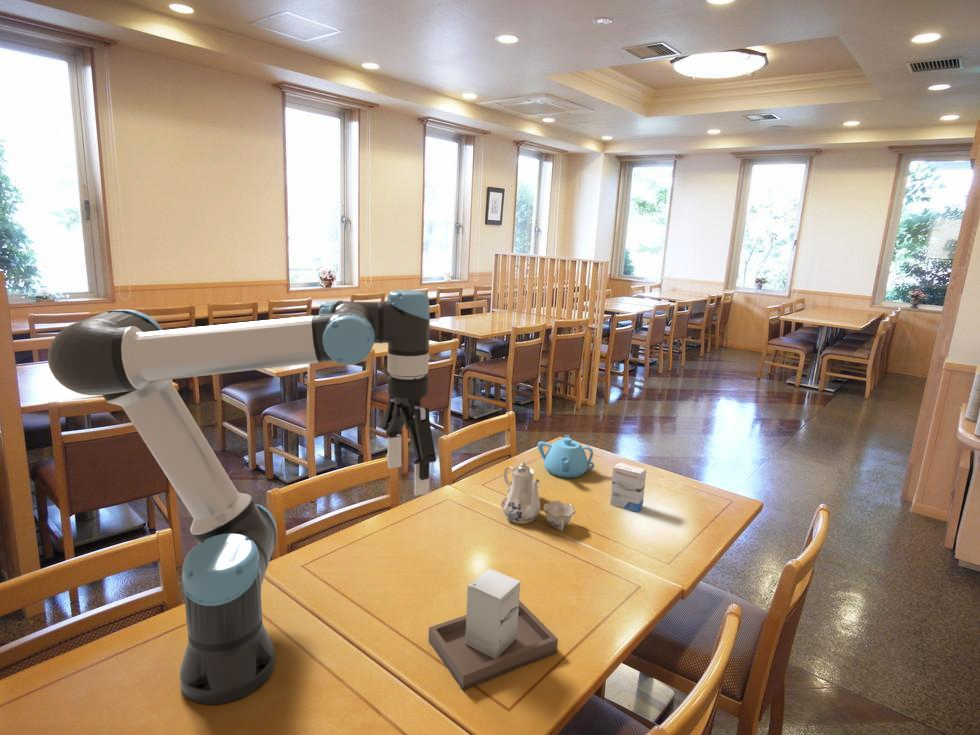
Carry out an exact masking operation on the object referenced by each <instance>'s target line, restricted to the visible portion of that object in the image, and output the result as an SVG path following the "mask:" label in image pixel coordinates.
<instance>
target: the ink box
mask: <svg viewBox="0 0 980 735" xmlns="http://www.w3.org/2000/svg"><path fill="white" fill-rule="evenodd" d="M611 476H612V478H611V486H610V488H611V489H610V497H609V498H610V499H609V500H610V501H609V505H611V506H614V507H619V508H622V509H625V510H629V511H633V512H636V513H638V512H639V511H640V510H641V509H642V508H643V506H644V497H645V496H644V495H645V488H646V478H647V477H646V476H647V469H646V468H643V467H638V466H633V465H630V464H626V463H623V462H618V463H617V464H616V465H614V466H613V468H612V475H611Z"/></svg>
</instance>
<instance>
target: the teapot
mask: <svg viewBox="0 0 980 735" xmlns="http://www.w3.org/2000/svg"><path fill="white" fill-rule="evenodd" d="M544 447H548V449H547V451H546V453H545V450H544ZM537 450H538V451H539V454H540V456H541V457H542V459H543V465H544V468H545V470H547V471H548V473H549V474H550V475H553V476H556V477H559V478H566V479H567V478H568V479H572V478H573V479H574V478H579V477H581V476H583V475H584V473H586V472H587V470H592V469H594V468H595V464H594V462H593V461H592V459H593V456H594V451H593V449H592V447H590V446H588V445H584V446H583V445H581V443H579V442H578V441H576V440H573V438H571V437H570V435H568V434H565V435H564V437H563V438H562V439H557V440H555V441H554V442H552V443H549V442H546V441H539V442H537ZM585 450H588V451H589V453H590V455H589V457H587V453H586V452H585Z"/></svg>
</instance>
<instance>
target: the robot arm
mask: <svg viewBox="0 0 980 735" xmlns="http://www.w3.org/2000/svg"><path fill="white" fill-rule="evenodd" d="M430 319H431V317H430V298H429V295H428V294H426V293H425V292H424V291H419V290H411V289H410V290H409V289H408V290H407V289H405V290H404V289H403V290H397V289H396V290H392V291H389V293H388V294H387V299H386V301H383V302H382V301H379V302H378V301H377V302H374V301H347V300H346V301H344V300H342V299H341V300H340V299H339V300H335V301H333V300H332V301H323V302H321V304H320V305H319V311H318V315H305V316H303V315H302V316H294V317H293V316H292V317H284V318H273V319H263V320H255V321H254V320H253V321H244V322H235V323H234V322H233V323H223V324H216V325H215V324H214V325H204V326H202V325H201V326H195V327H194V326H191V327H185V328H182V327H181V328H173V329H171V328H170V329H165V330H164V329H163V328H162V326H161V325H160V324H159V323H158V321H156V320H155V319H154V318H152V317H151V316H149V315H148V314H146V313H144V312H140V311H138V310H133V309H126V308H125V309H113V310H112V309H111V310H108V311H105V312H101V313H99V314H97V315H95V316H91V317H90V318H86V319H84V320H80V321H77V322H74V323H72V324H69V325H67V326H65V327H64V328H63V329H61V330H60V331H59V332H58V333H57V334H56V335H55V336H54V338H53V339H52V341H51V343H50V345H49V348H48V351H47V352H48V353H47V362H48V367H49V369H50V372H51V374H52V375H53V377H54V379H56V381H57V382H58V383H60V385H62V386H63V387H65V388H66V389H67V390H69V391H72V392H74V393H77V394H81V395H86V396H102V397H103V398H104V400H105V401H106V403H108V404H112V405H116V406H119V407H122V409H123V411H124V413H125V414H126V416H127V417H128V419H129V420H130V421H131V423H132V425H133V427H134V429H135V430H136V431H137V433H138V434H139V436H140V437H141V439H142V441H143V442H144V443H145V446H147V448H148V450H149V452H150V453H151V455H152V456H153V457H154V460H156V462H157V464H158V465H159V467H160V468H161V470H162V471H163V473H164V475H165V476H166V477H167V479H168V481H169V482H170V484H171V485H172V488H174V490H175V492H176V494H177V495H178V497H179V498H180V500H181V501H182V503H183V504H184V506H185V507H186V509H187V511H188V513H189V514H190V516H192V519H193V520H192V522H191V526H190V529H189V530H190V531H189V532H190V533H191V535H192V536H193V538H194V539H195V541H196V542H197V544H196V545H195V546H193V547H192V548H191V549H190V550H189V552H188V553H187V554H186V556H185V558H184V561H183V564H182V574H181V585H182V589H183V596H184V597H183V598H184V606H185V609H184V610H185V617H186V618H185V619H186V628H187V638H188V642H187V645H186V647H185V648H186V649H185V651H184V652H185V653H184V655H183V657H182V658H183V659H182V662H181V665H180V670H179V683H180V689H181V691H182V693H183V695H184V696H185V697H186V698H187V699H188V700H190V701H192V702H195V703H198V704H201V705H222V704H226V703H231V702H235V701H237V700H240V699H242V698H245V697H247V696H248V695H250V694H252V693H253V692H255V691H257V690H258V689H260V688H261V687H262V686H263V685H264V684H265V683H266V682H267V681H268V680H269V678H270V677H271V675H272V674H273V671H274V669H275V666H276V652H275V646H274V644H273V642H272V640H271V638H270V637H271V636H269V633H268V631H267V630H266V628H265V626H264V623H263V610H262V609H263V607H262V585H263V582H264V578H265V575H266V572H267V569H268V566H269V563H270V561H271V559H272V558H271V557H272V555H273V552H274V549H275V547H276V543H277V532H278V531H277V529H278V528H277V524H276V520H275V518H274V516H273V514H272V513H271V512H270V511H269V510H268V509H267V508H266V507H265V506H263V505H261V504H257V503H255V502H254V500H253V497H252V496H251V495H250V494H248V493H243V492H239V491H238V489H237V488H236V487H235V485H234V483H233V482H232V480H231V479H230V476H229V475H228V473H227V471H226V469H225V468H224V467H223V465H222V462H220V460H219V458H218V457H217V455H216V453H215V452H214V450H213V448H212V447H211V445H210V444H209V441H208V440H207V438H206V436H205V435H204V434H203V432H202V430H201V429H200V427H199V425H198V424H197V422H196V420H195V418H194V416H193V415H192V414H191V411H190V410H189V409H188V407H187V405H186V403H185V402H184V400H183V399H182V397H181V395H180V394H179V392H178V390H177V389H176V387H175V385H174V383H173V380H176V379H178V380H179V379H185V378H186V379H187V378H194V377H203V376H211V375H213V376H214V375H221V374H230V373H238V372H245V371H246V372H247V371H256V370H265V369H273V368H283V367H291V366H298V365H300V366H301V365H308V364H309V365H310V364H318V363H329V362H335V363H338V364H342V365H345V366H350V365H351V366H352V365H355V364H359V363H360V362H362V361H364V360H365V359H366V358H367V357H368V356H369V354H370V352H371V350H372V349H373V347H374V345H375V344H387V346H388V347H387V373H389V375H388V376H387V393H388V402H387V406H386V410H385V411H386V412H385V415H384V419H383V424H382V429H383V431H386V432H385V435H386V437H387V468H388V469H389V470H390V469H395V468H401V467H402V441H403V440H402V436H401V435H403V431H402V430H403V427H405V429H406V430H407V431H408V432H409V436H410V439H411V444H412V448H413V451H414V456H415V458H416V459H415V460H414V461H413V465H414V467H413V468H414V473H413V474H414V475H413V476H414V479H413V480H414V481H413V494H414V496H415V497H416V496H421V495H426V494H430V474H431V473H430V466H431V463H435V462H436V461H437V456H436V450H435V444H434V439H433V432H432V428H431V421H430V408H429V407H422V402H421V400H422V398H425V397H426V396H427V395H428V394H429V376H428V375H427V374H428V373H429V361H430V360H431V356H430V355H429V354H430V352H429V351H430V350H429V349H430V321H431V320H430Z"/></svg>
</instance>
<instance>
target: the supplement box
mask: <svg viewBox="0 0 980 735" xmlns="http://www.w3.org/2000/svg"><path fill="white" fill-rule="evenodd" d="M466 592H467V593H466V614H465V615H466V636H465V644H467V645H469V646H470V647H472V648H474V649H476V650H478V651H480V652H482V653H484V654H486V655H488V656H490V657H491V658H494V659H496V658H498V657H499V656H500V655H501V654H502V653H503V651H504V650H505V649H506V648H507V647H508V646H509V645H510V644H511V643H512V642H513V641H515V640H516V638H517V626H518V612H519V600H520V596H521V595H520V593H521V580H518V579H516V578H514V577H511V576H509V575H506V574H504V573H501V572H499V571H497V570H494V569H492V568H488V569H487V570H485V571H484V572H483V573H482V574H480V575H479V576H478V577H476V578H475V579H474V580H473V581H472V582H470V583H469V584H468V585H467V591H466Z"/></svg>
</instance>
